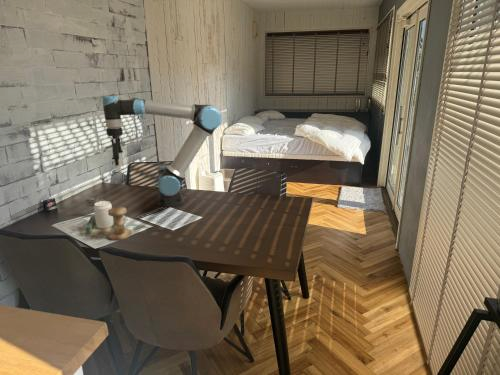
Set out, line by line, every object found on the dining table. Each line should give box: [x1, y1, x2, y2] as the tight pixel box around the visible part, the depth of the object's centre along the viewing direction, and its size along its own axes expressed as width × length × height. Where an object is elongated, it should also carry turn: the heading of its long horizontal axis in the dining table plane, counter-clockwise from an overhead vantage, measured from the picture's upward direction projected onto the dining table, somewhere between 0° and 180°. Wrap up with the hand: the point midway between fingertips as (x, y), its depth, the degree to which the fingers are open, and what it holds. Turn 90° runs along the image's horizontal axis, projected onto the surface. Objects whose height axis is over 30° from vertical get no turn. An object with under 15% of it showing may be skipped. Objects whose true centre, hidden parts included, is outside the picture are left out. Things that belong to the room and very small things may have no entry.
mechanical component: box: [85, 197, 106, 207], centre depth 185 cm, size 3×10×10 cm, turn 79°
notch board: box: [84, 214, 125, 237], centre depth 172 cm, size 16×16×4 cm
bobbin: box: [108, 206, 132, 241], centre depth 162 cm, size 10×10×13 cm
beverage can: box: [93, 200, 114, 229], centre depth 170 cm, size 8×8×12 cm
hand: (119, 168), depth 182 cm, fingers open, 13 cm apart
